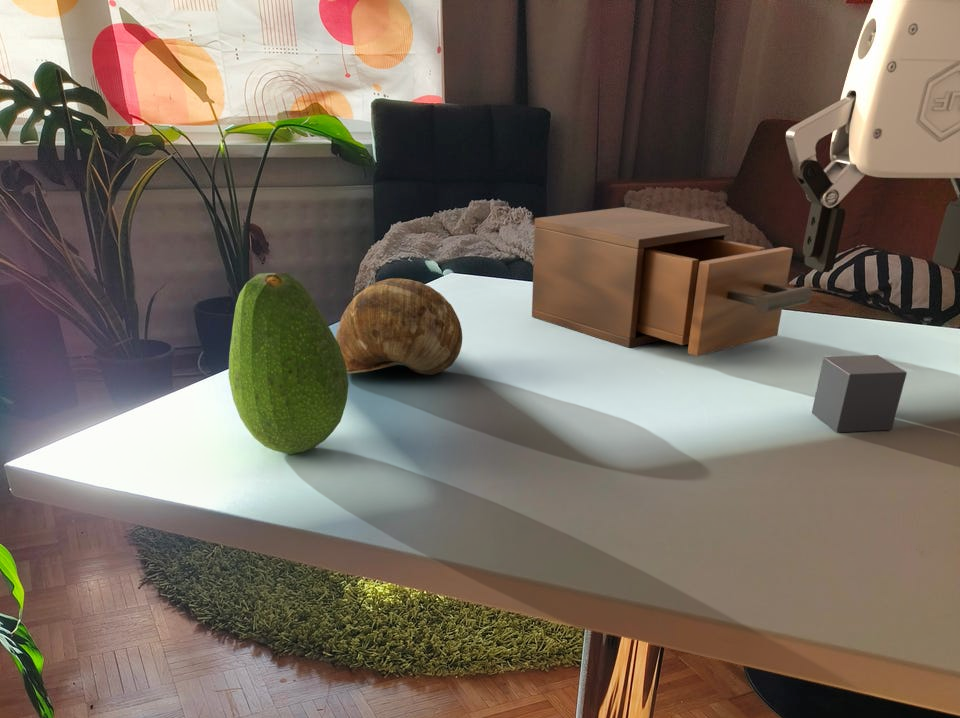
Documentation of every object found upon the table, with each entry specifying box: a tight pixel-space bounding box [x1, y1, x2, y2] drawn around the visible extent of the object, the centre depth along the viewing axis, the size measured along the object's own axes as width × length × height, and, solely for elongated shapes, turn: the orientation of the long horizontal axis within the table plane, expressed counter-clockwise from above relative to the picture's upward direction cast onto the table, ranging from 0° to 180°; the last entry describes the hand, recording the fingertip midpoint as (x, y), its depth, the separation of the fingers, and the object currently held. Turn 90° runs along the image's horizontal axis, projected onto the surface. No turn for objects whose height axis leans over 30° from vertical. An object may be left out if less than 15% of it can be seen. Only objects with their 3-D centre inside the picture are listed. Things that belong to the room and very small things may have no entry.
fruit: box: [228, 272, 349, 455], centre depth 60 cm, size 8×8×12 cm
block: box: [811, 354, 908, 433], centre depth 67 cm, size 4×4×4 cm
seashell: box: [335, 277, 463, 376], centre depth 76 cm, size 11×9×8 cm
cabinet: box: [531, 206, 732, 348], centre depth 90 cm, size 15×13×10 cm
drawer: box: [636, 237, 813, 357], centre depth 83 cm, size 18×11×8 cm, turn 37°
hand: (883, 267), depth 62 cm, fingers open, 9 cm apart
